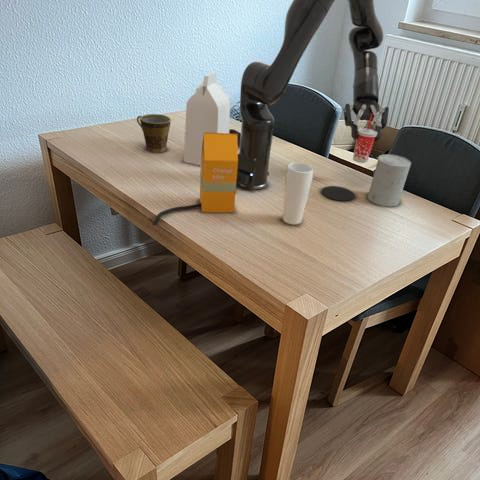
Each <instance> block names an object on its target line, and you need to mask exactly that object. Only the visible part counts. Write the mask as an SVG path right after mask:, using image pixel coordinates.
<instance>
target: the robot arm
mask: <svg viewBox="0 0 480 480" xmlns="http://www.w3.org/2000/svg"><path fill="white" fill-rule="evenodd" d="M335 1H336V0H292V2H291V4H290V5H289V7H288V9H287V12H286V15H285V20H284V29H283V31H284V32H283V41H282V44H281V46H280V49H279V51H278V53H277V55H276V56H275V58H274V60H273V62H272V63H271V64H267V63H264V62H261V61H252V62H250V63H249V64H248V65H247V66H246V67H245V69H244V70H243V72H242V76H241V81H240V82H241V83H240V97H239V98H240V99H239V114H240V118H241V125H240V128H241V129H240V133H241V137H240V147H239V149H238V168H237V179H236V186H237V187H241V188H243V189H245V190H248V191H253V190H262V189H264V188H266V187H267V185H268V177H269V175H270V172H269V166H270V158H271V150H272V143H273V136H274V135H273V134H274V128H275V118H274V116H273V114H272V113H271V112H270V110H269V108H268V106H272V105H274V104H276V103H278V101H279V100H280V99H281V97H282V96H283V95H284V93H285V92H286V90H287V88H288V85H289V83H290V81H291V79H292V77H293V75H294V73H295V71H296V69H297V66H298V64H299V63H300V61H301V59H302V57H303V56H304V53H305V52H306V50H307V48H308V46H309V44H310V43H311V41H312V39H313V38H314V36H315V35H316V34H317V31H318V30H319V28H320V27H321V26H322V24H323V22H324V21H325V19H326V17H327V16H328V13H329V11H330V9H331V7H332V6H333V4H334V3H335ZM374 2H375V1H374V0H347V5H348V12H349V17H350V23H351V24H352V25H353V26H354V27H352V28H351V29H350V30H349V32H348V35H347V42H348V43H347V44H348V46H349V50H350V52H351V55H352V60H353V81H352V83H353V84H352V94H353V95H352V96H353V97H352V100H353V103H352V104H350V103H345V105H344V106H343V108H342V111H343V118H344V126H346V127H350V129H351V130H350V131H351V133H350V135H351V138H352V139H353V141H356V139H357V138H358V128H359V125H358V123H359V121H367V122H369V120H370V116H371V114H373V115H372V119H371V123H370V125H371V126H372V127H373V128H374V130H375V131H377V136H376V137H375V140H374V142H376V143H377V142H378V141H379V140H380V139H381V137H382V130H383V129H385V127H386V126H387V125H388V120H389V111H390V108H389V107H388V106H385V107H381V106H380V104H379V101H380V99H379V98H380V97H379V91H380V90H379V89H380V88H379V74H378V56H377V54H376V53H375V51H371V50H374V49H375V50H376V49H378V48H379V47H381V45H382V43H383V42H384V30H383V28H382V24H381V22H380V20H379V19H378V17H377V13H376V10H375V3H374ZM352 112H353V113H354V115H355V117H354V119H353V118H352ZM378 113H380V114H378ZM352 119H353V120H352ZM196 208H201V203H200V202H199V203H195V204H189V205H183V206H182V205H181V206H176V207H171V208H168V209H164V210H163V211H160V212H159V213H158V214H157V215H156V217H155V218H154V220H153V222H152V225H153V226H156V225H158V223H159V220H160V219H161V218H162V216H164V215H167V214H169V213H173V212H176V211H183V210H184V211H185V210H193V209H196Z"/></svg>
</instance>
